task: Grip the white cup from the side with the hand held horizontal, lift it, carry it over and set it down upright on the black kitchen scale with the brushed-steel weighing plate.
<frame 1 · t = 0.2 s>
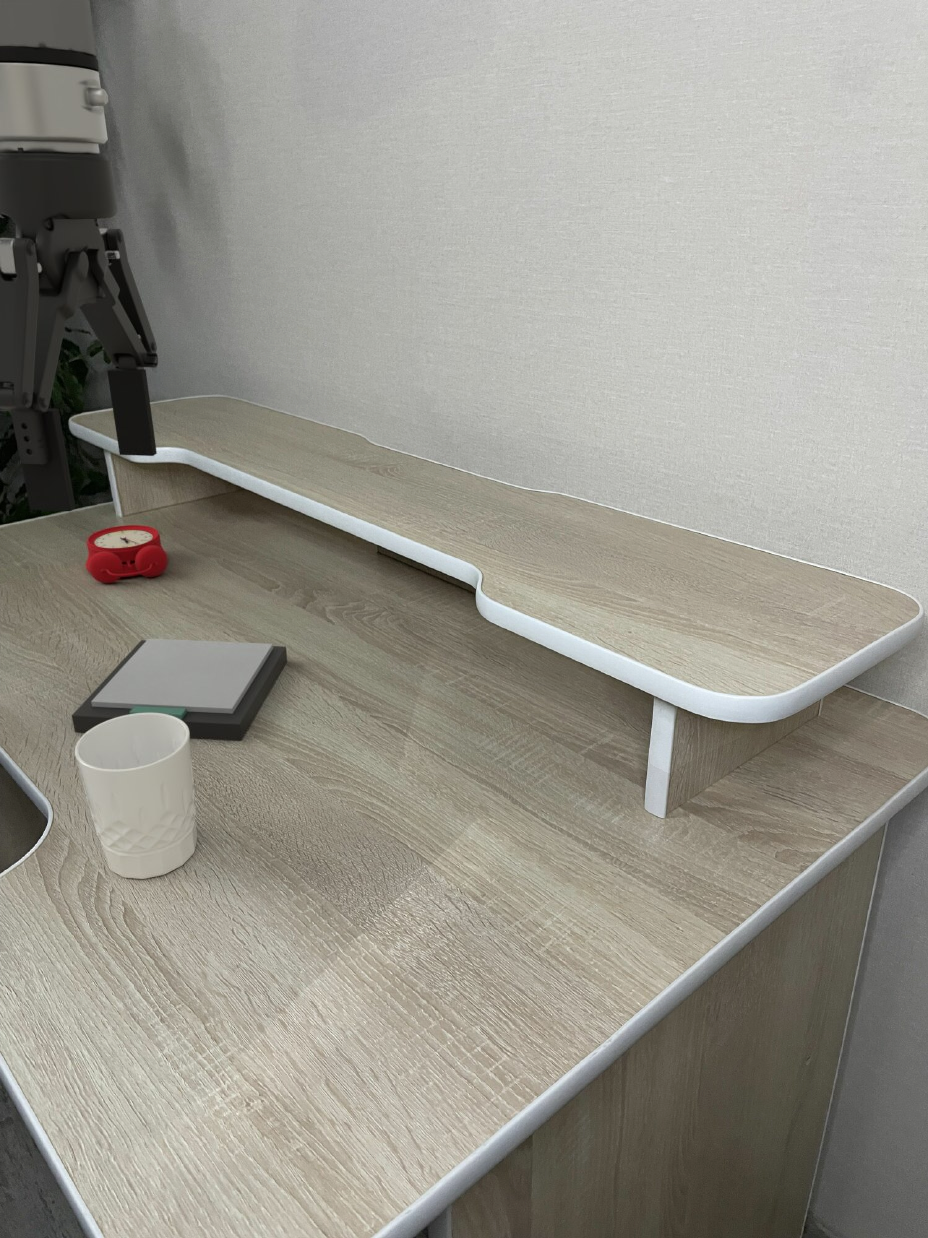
hand: (99, 479, 67), 27 cm above the table, tool pointing down, fingers open, 13 cm apart
alarm clock: (129, 570, 125), on the table
white cup: (152, 853, 72), on the table
scale: (188, 694, 94), on the table
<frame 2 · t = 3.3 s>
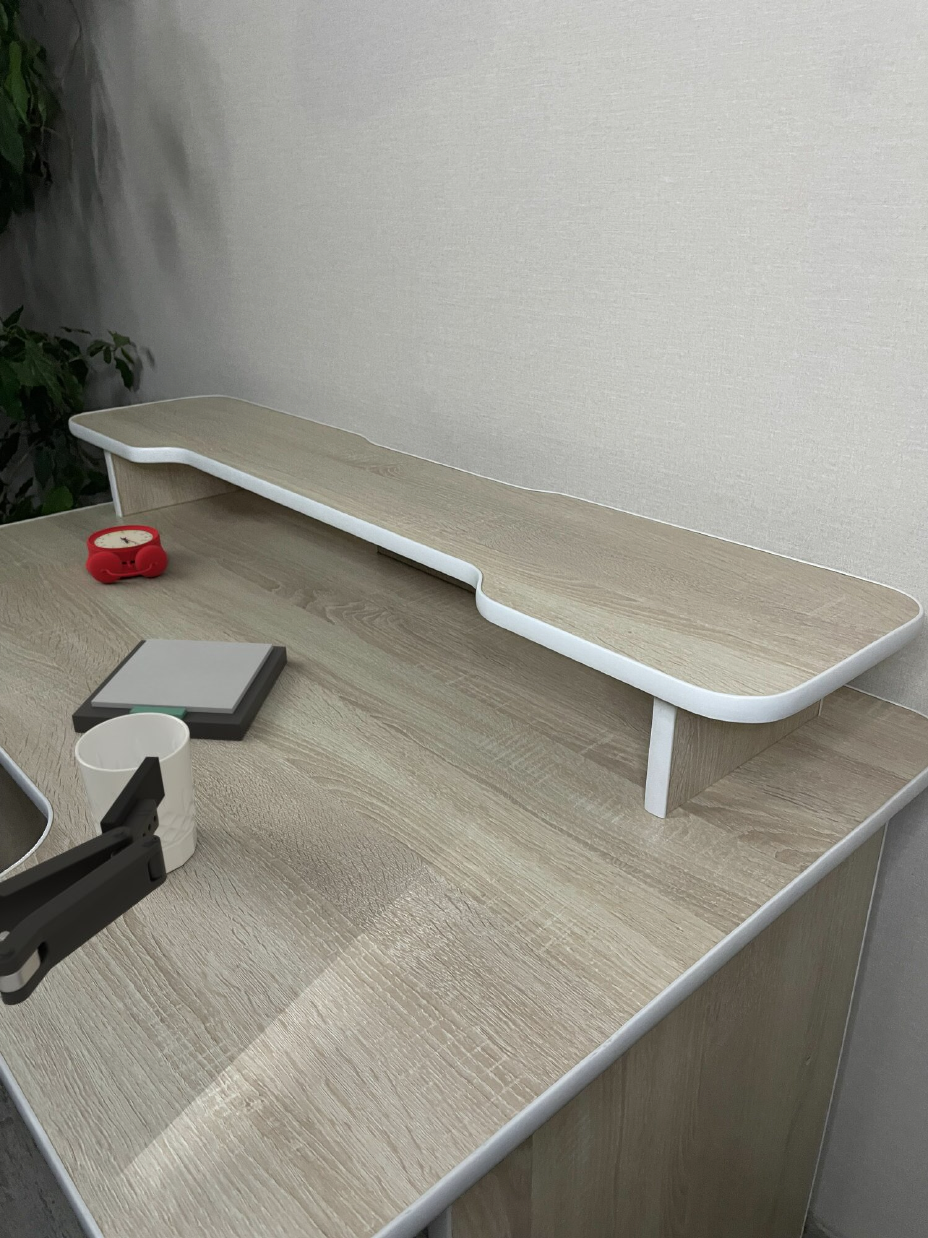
hand: (45, 773, 56), 14 cm above the table, tool horizontal, fingers open, 13 cm apart
nothing on the table moved.
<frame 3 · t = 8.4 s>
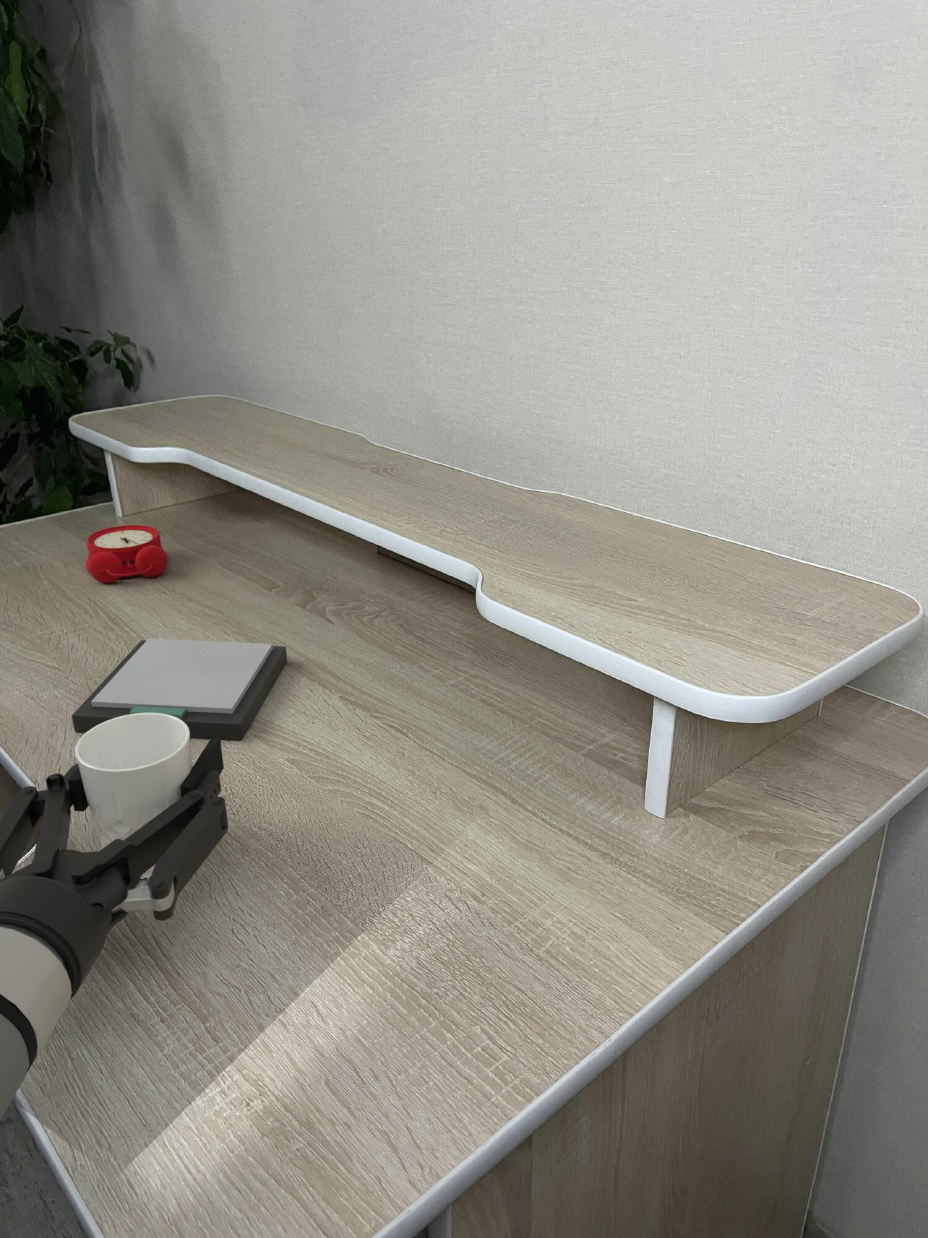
hand: (165, 750, 74), 6 cm above the table, tool horizontal, fingers closed on white cup, 8 cm apart
white cup: (152, 853, 72), on the table, touching gripper
everything else where it was.
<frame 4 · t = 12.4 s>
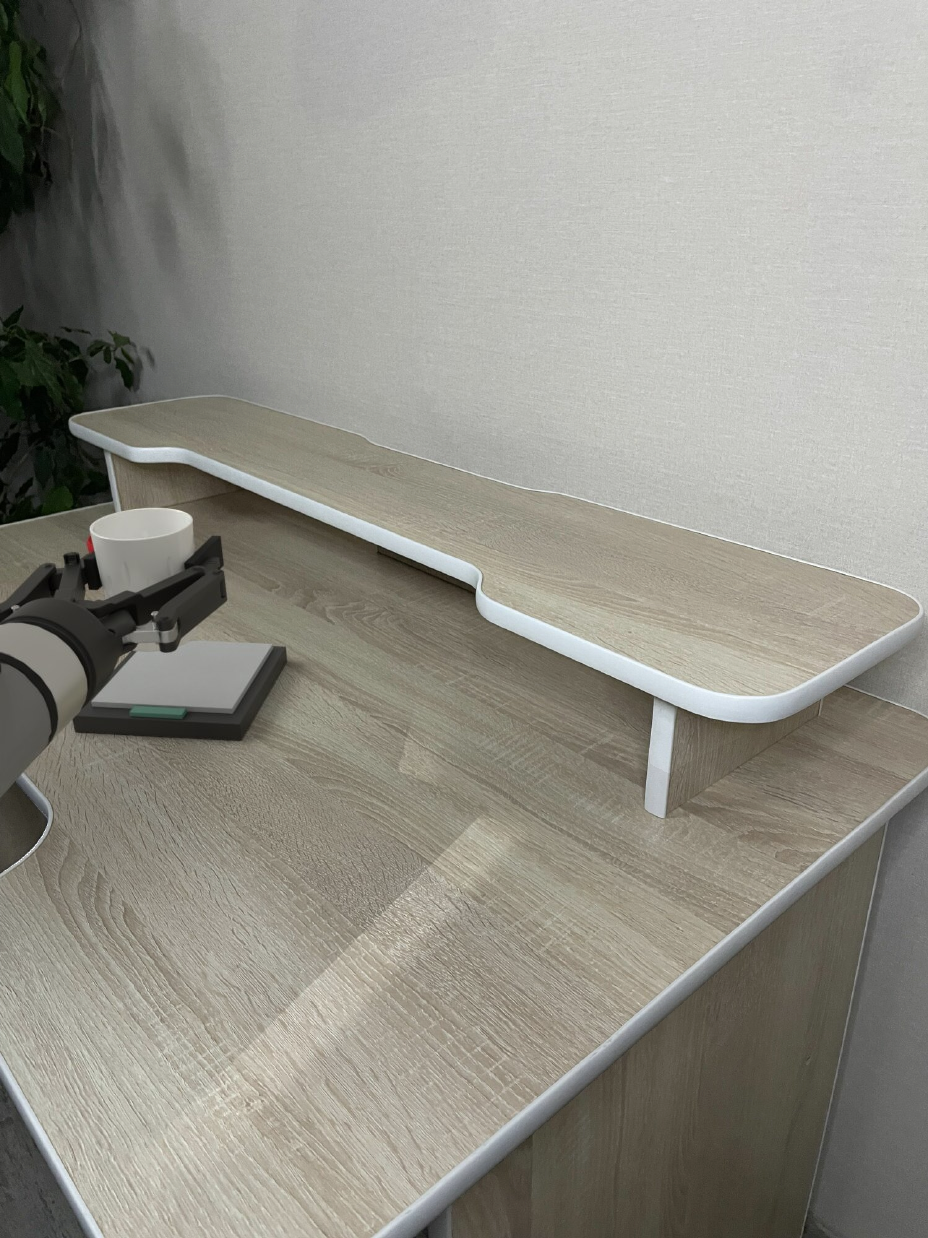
hand: (171, 548, 81), 18 cm above the table, tool horizontal, fingers closed on white cup, 8 cm apart
white cup: (158, 637, 79), point 12 cm above the table, touching gripper
everything else where it was.
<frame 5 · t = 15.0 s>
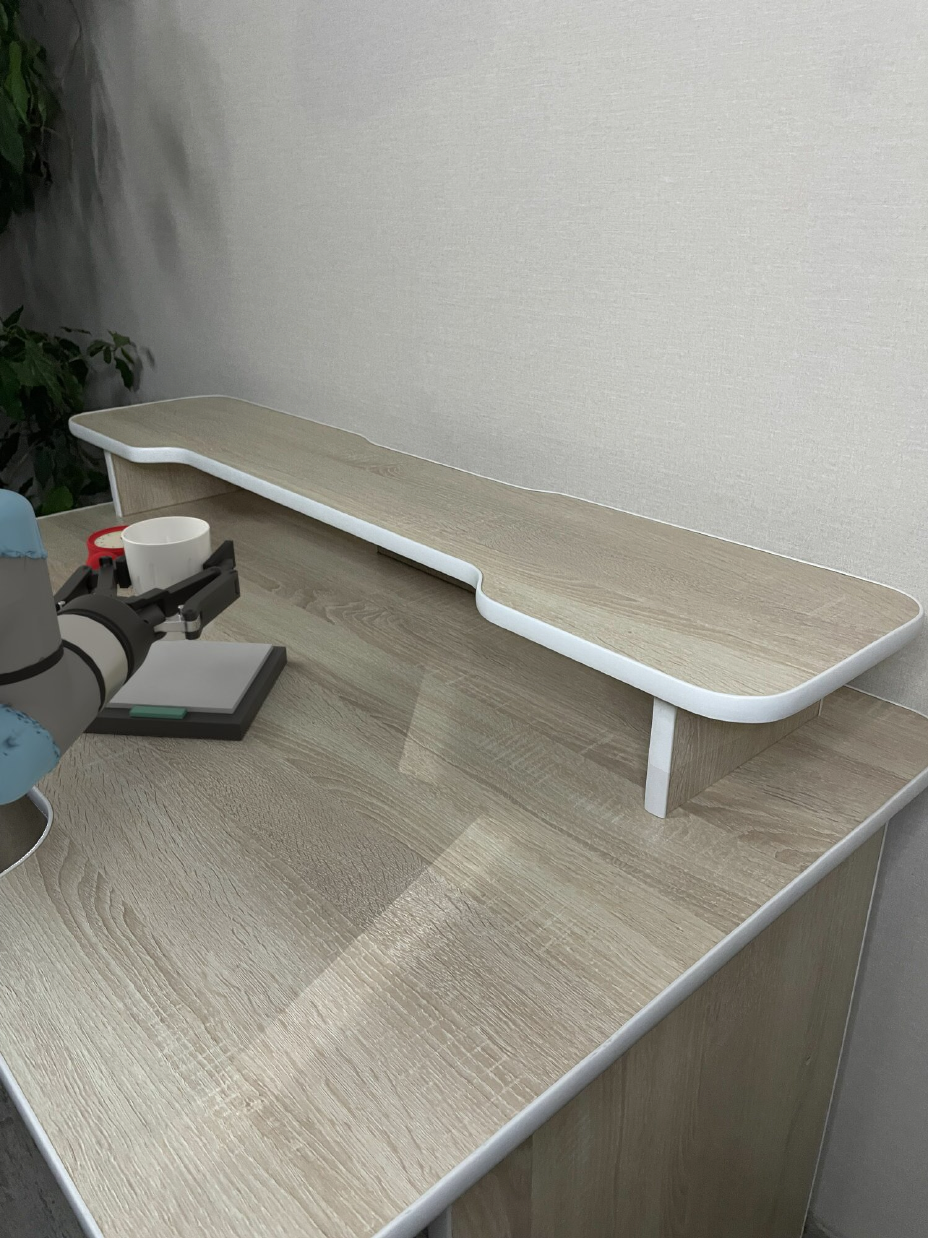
hand: (189, 552, 93), 13 cm above the table, tool horizontal, fingers closed on white cup, 8 cm apart
white cup: (179, 629, 91), point 7 cm above the table, touching gripper
everything else where it was.
when the fingers open (8 cm above the table, at t = 16.8 s): white cup stays where it is, resting on scale.
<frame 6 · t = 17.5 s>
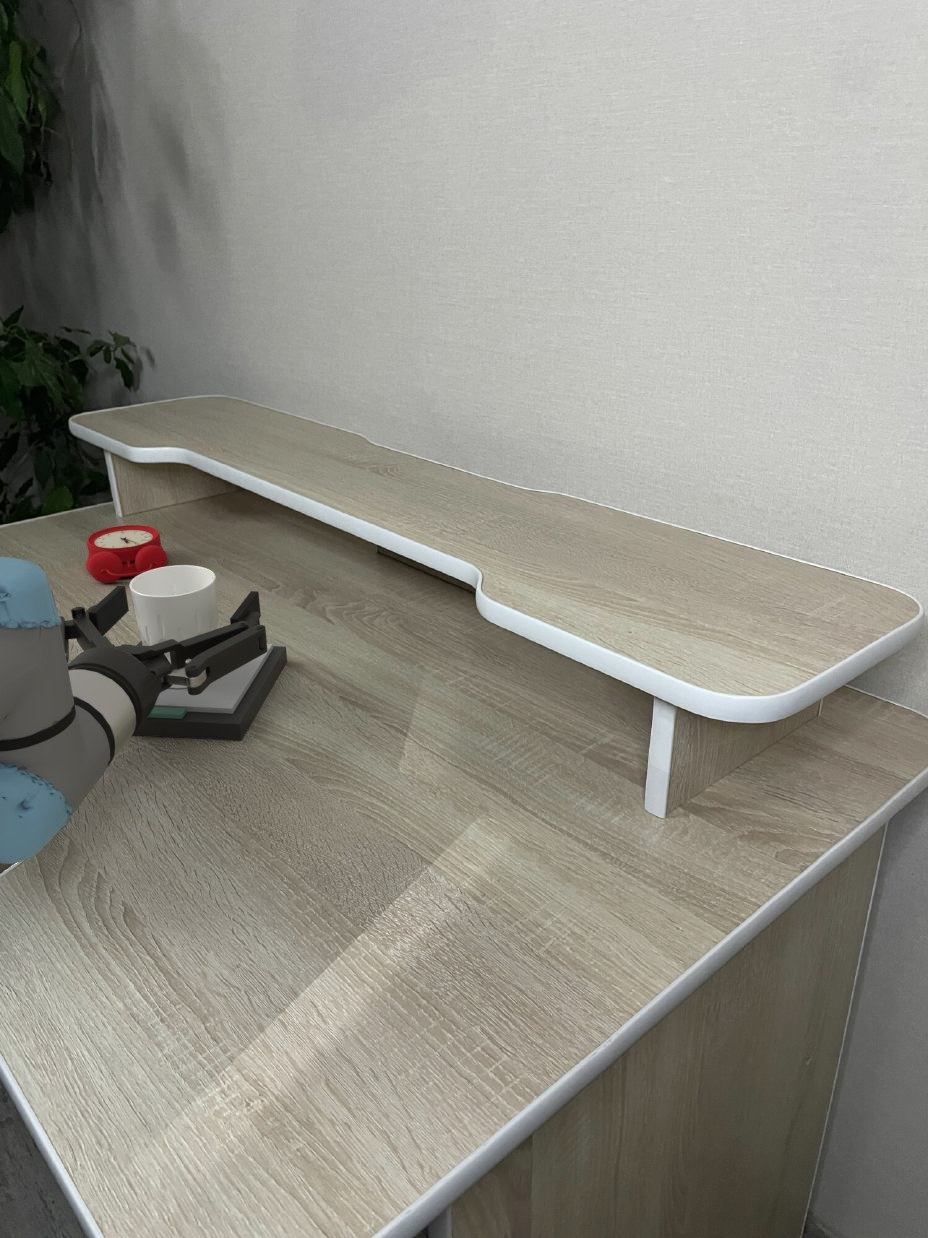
hand: (189, 600, 93), 9 cm above the table, tool horizontal, fingers open, 13 cm apart
white cup: (186, 674, 93), point 2 cm above the table, touching scale
everything else where it was.
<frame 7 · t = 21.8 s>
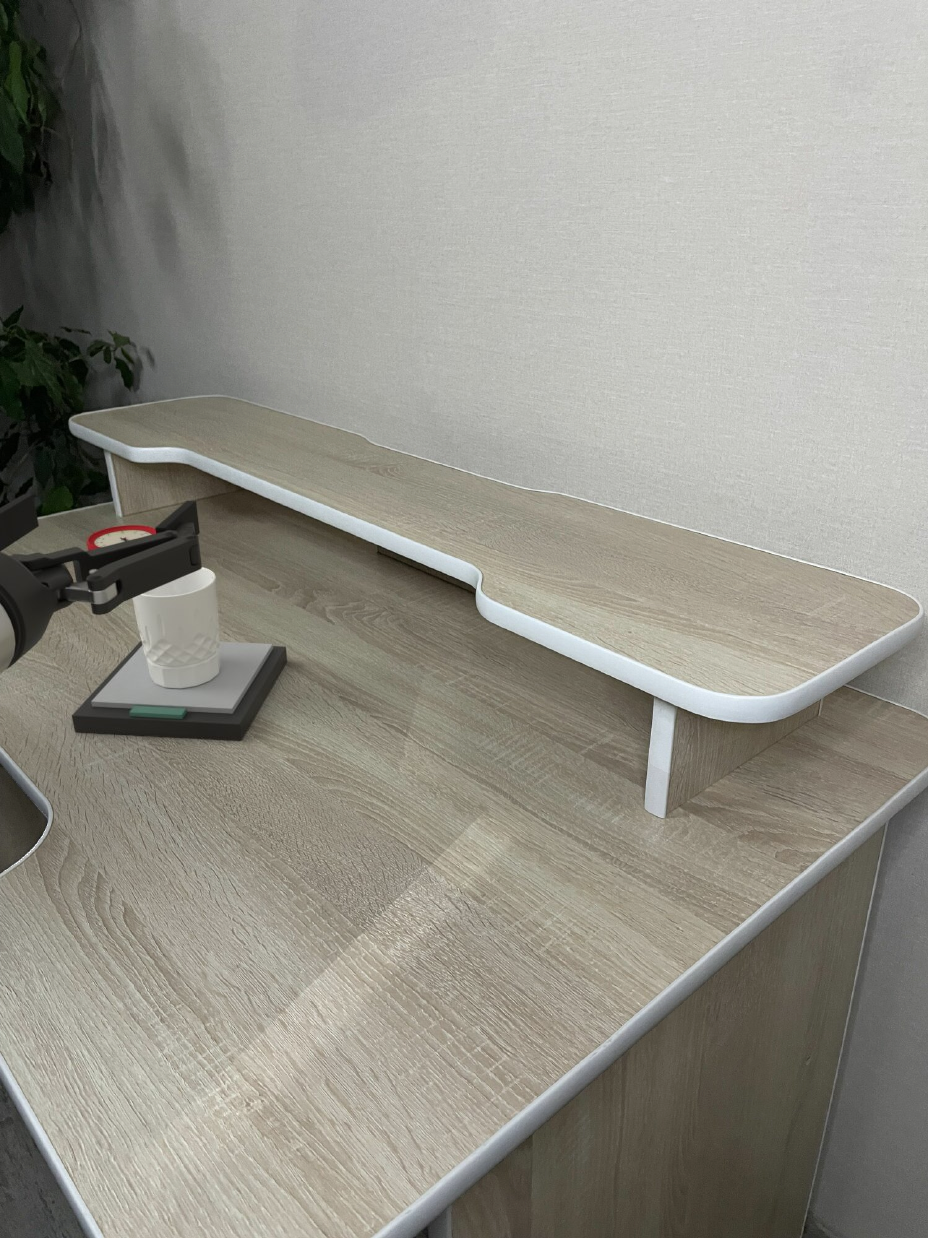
hand: (112, 513, 76), 22 cm above the table, tool horizontal, fingers open, 13 cm apart
nothing on the table moved.
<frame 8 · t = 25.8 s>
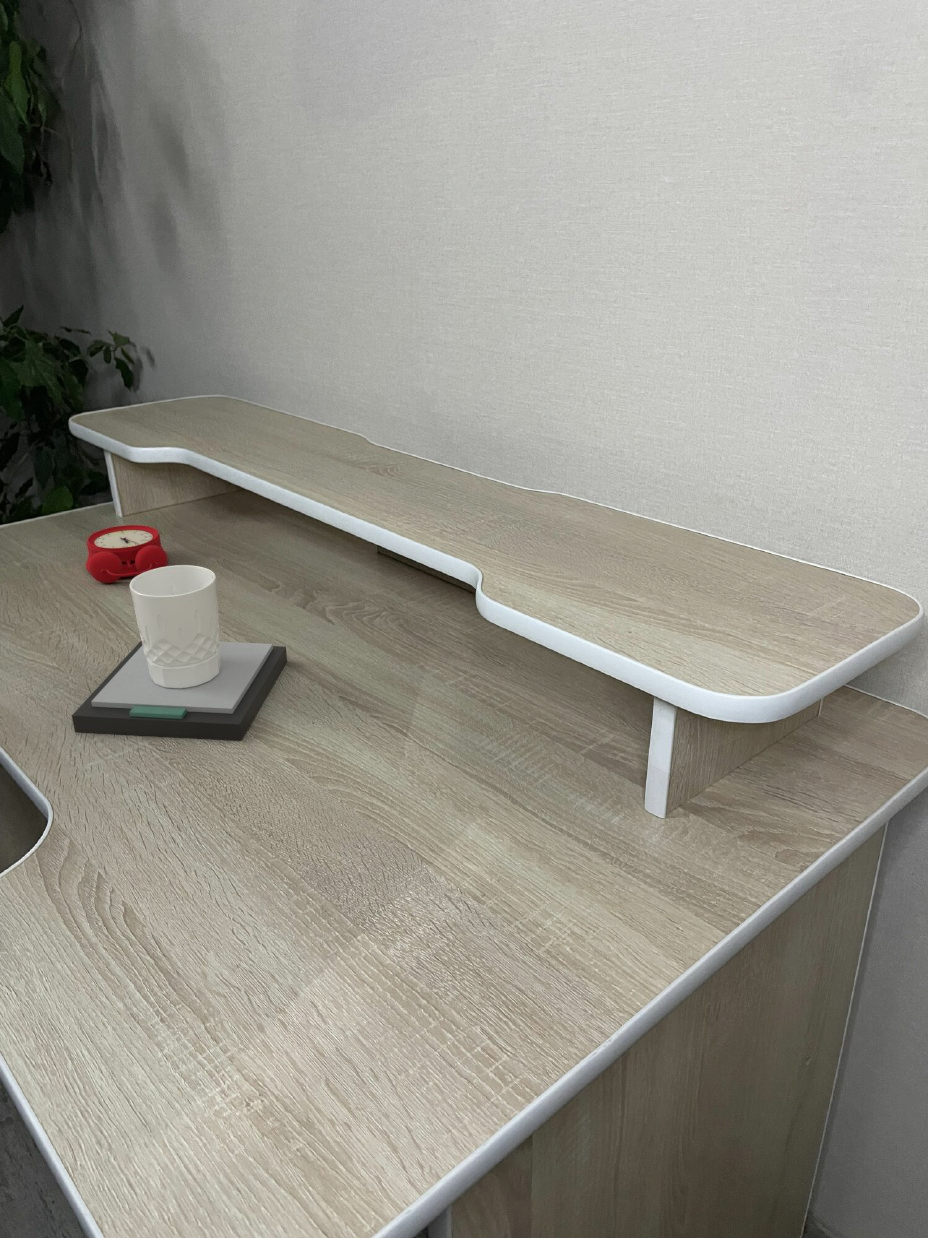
nothing on the table moved.
at the end: white cup inside the target area on the scale (0.0 cm from its centre), point 2.2 cm above the scale's base; white cup tilted 0°; the gripper is holding nothing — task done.
